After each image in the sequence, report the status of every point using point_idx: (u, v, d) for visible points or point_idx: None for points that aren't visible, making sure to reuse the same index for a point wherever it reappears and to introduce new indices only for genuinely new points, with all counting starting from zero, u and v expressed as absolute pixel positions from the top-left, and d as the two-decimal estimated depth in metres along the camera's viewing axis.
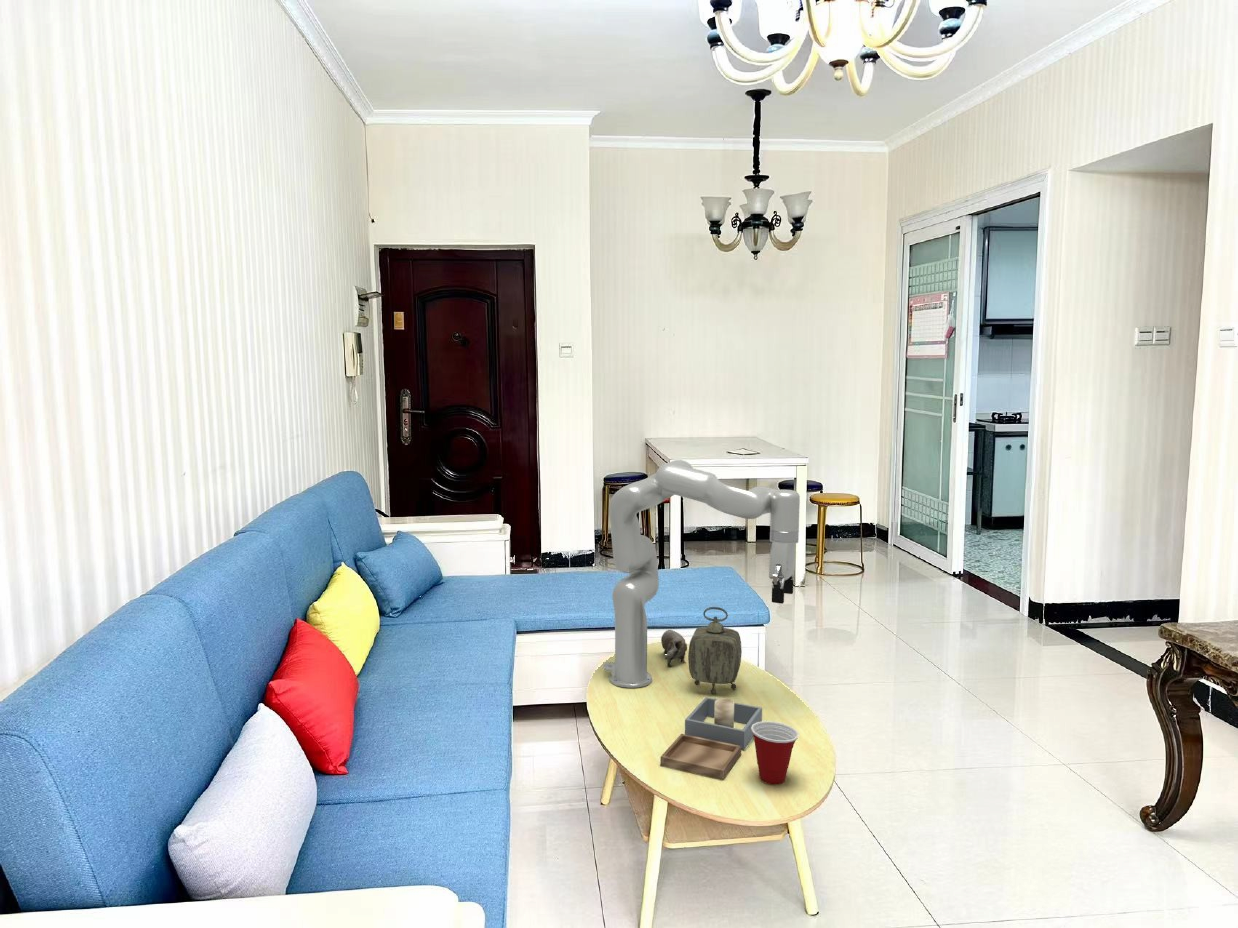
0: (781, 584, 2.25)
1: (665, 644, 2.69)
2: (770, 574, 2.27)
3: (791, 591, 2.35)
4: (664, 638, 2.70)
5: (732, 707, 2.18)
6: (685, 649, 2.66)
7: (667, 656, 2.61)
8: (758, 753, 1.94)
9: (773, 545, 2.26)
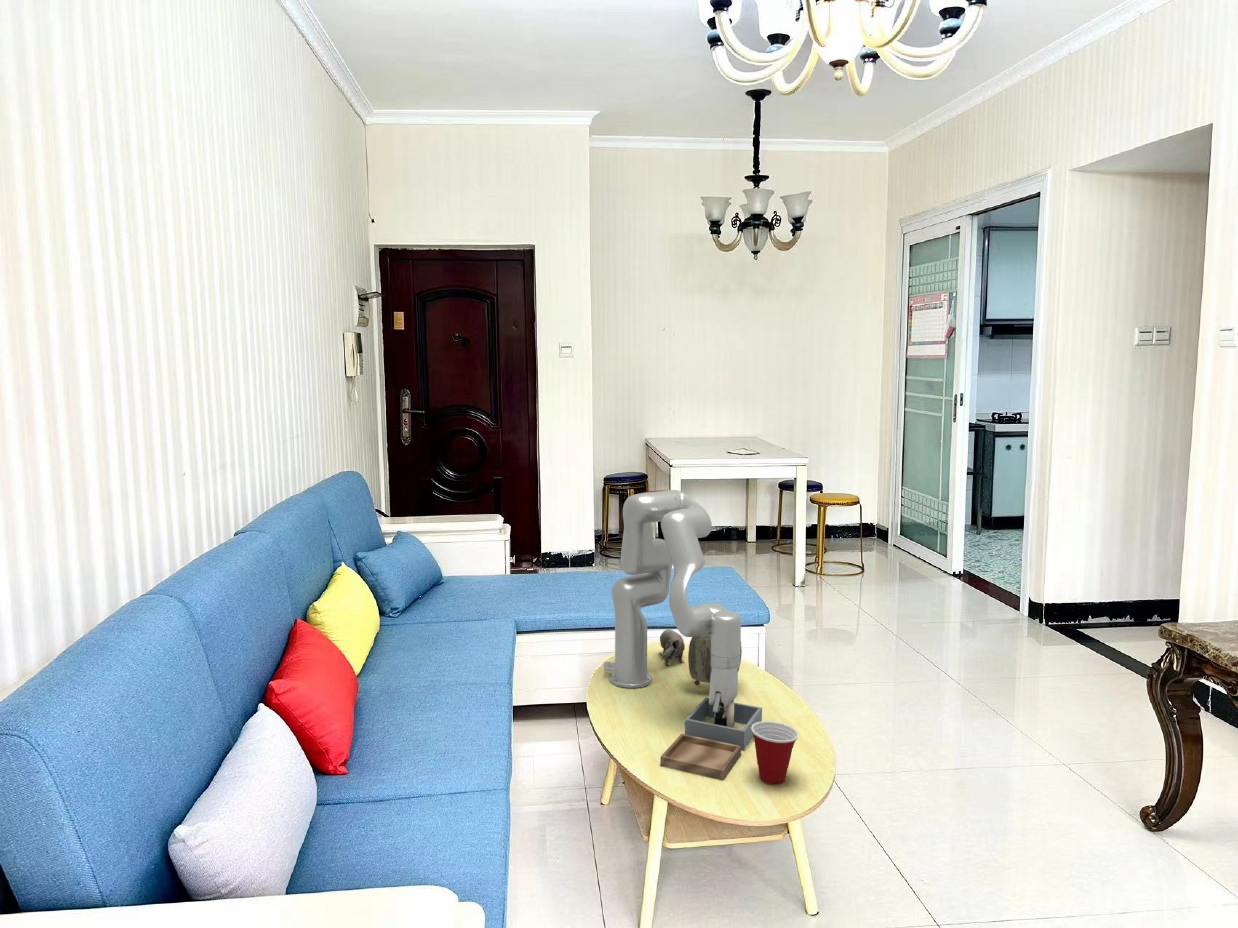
0: (723, 714, 2.16)
1: (663, 643, 2.70)
2: (710, 701, 2.16)
3: None
4: (662, 637, 2.71)
5: (732, 707, 2.18)
6: (683, 649, 2.66)
7: (664, 655, 2.62)
8: (758, 753, 1.94)
9: (713, 671, 2.15)
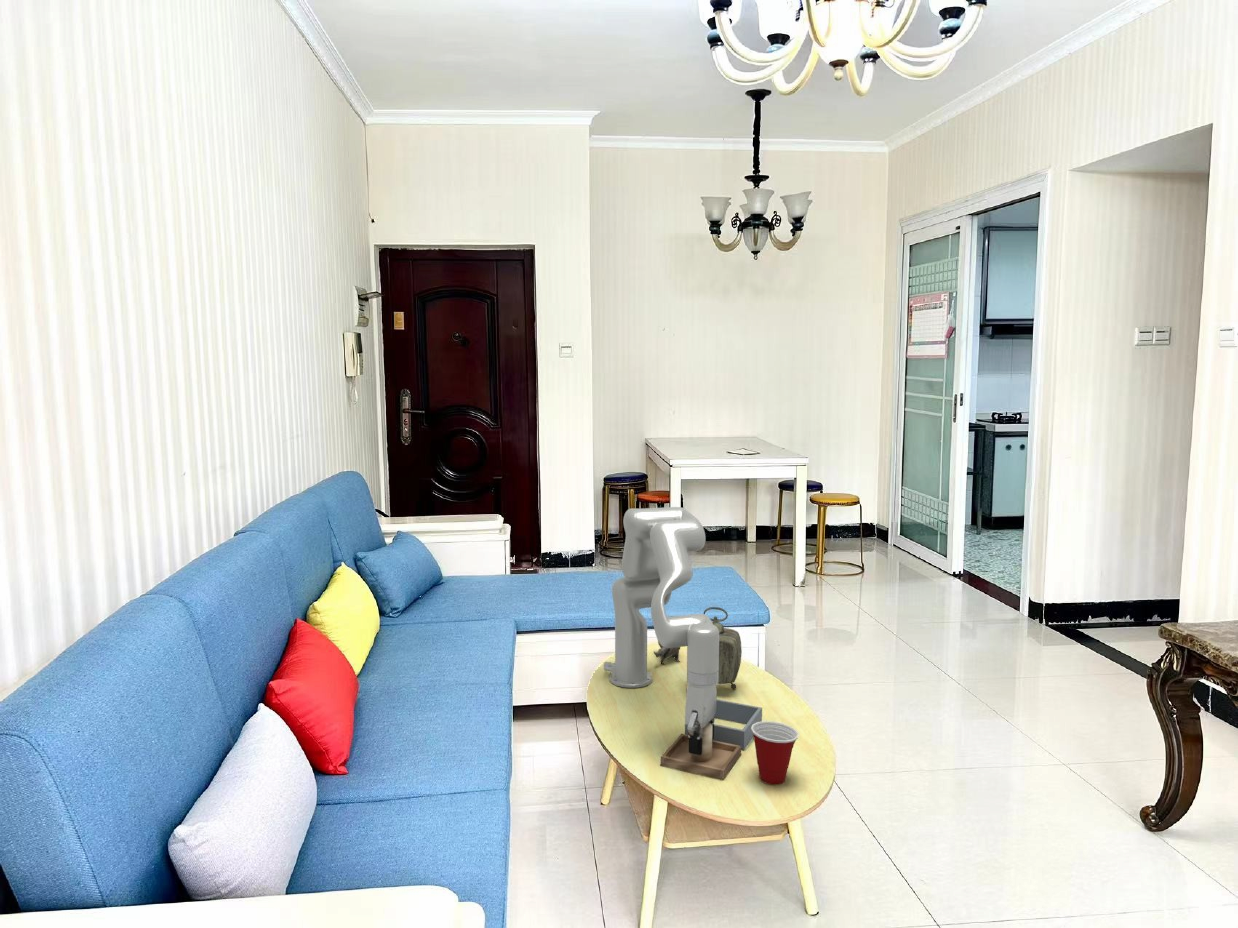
0: (698, 734, 1.99)
1: None
2: (686, 720, 2.00)
3: (712, 737, 2.08)
4: None
5: (710, 731, 2.03)
6: (678, 648, 2.67)
7: (658, 654, 2.63)
8: (758, 753, 1.94)
9: (689, 688, 2.00)
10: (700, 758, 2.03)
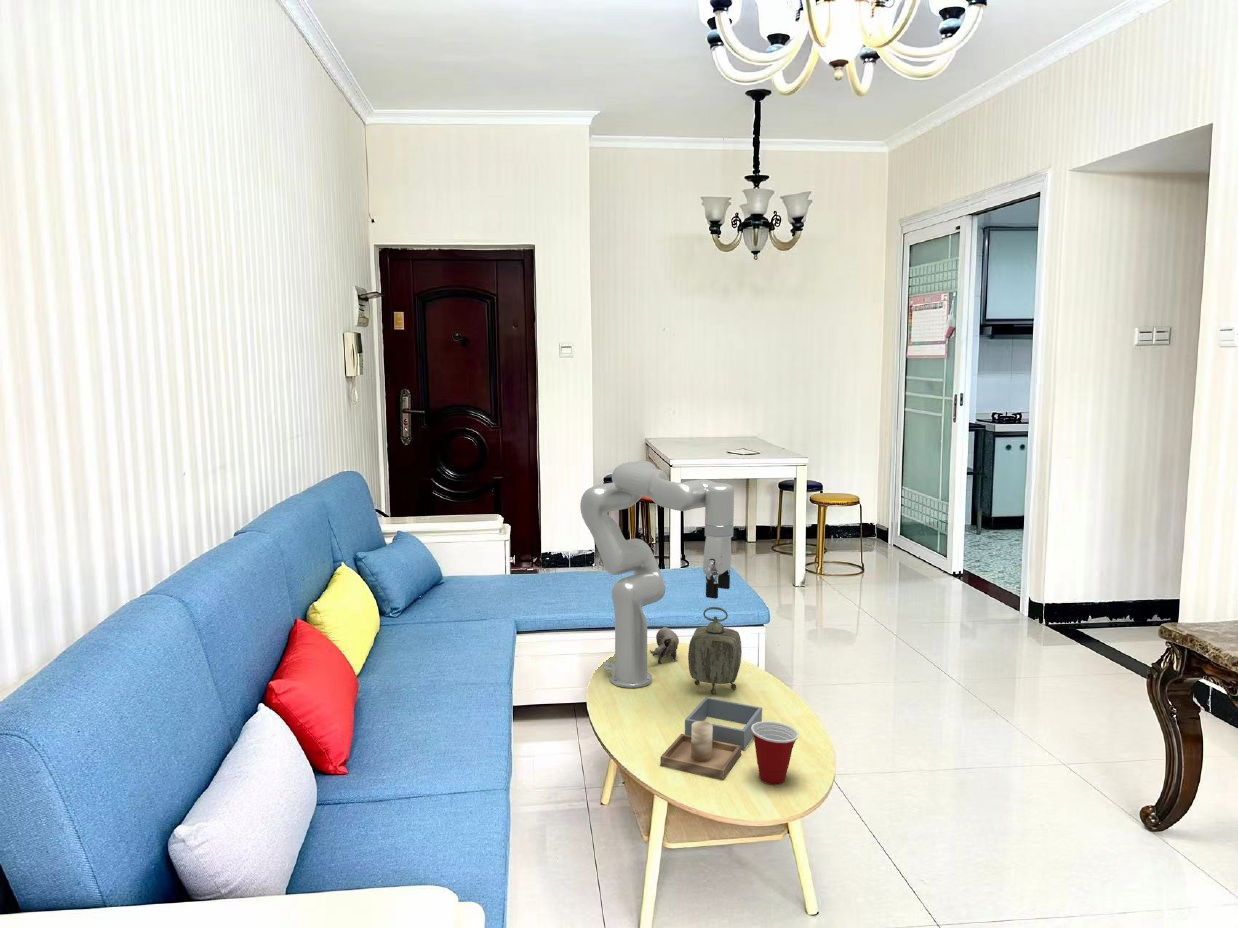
0: (715, 579, 2.22)
1: (658, 641, 2.72)
2: (704, 569, 2.24)
3: (727, 586, 2.32)
4: (657, 635, 2.73)
5: (710, 731, 2.03)
6: (675, 647, 2.68)
7: (654, 653, 2.64)
8: (758, 753, 1.94)
9: (707, 539, 2.23)
10: (700, 758, 2.03)
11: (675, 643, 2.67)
